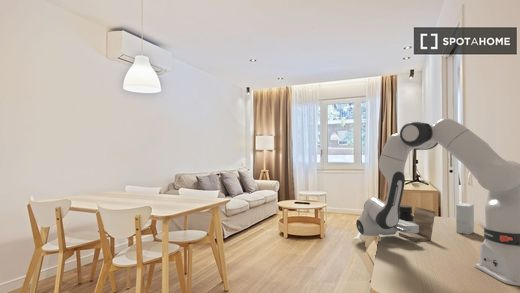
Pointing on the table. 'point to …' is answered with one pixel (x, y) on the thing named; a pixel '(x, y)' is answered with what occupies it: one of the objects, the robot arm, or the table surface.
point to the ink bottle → (406, 213)
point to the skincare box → (465, 218)
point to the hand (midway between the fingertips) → (413, 223)
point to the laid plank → (414, 236)
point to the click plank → (424, 221)
